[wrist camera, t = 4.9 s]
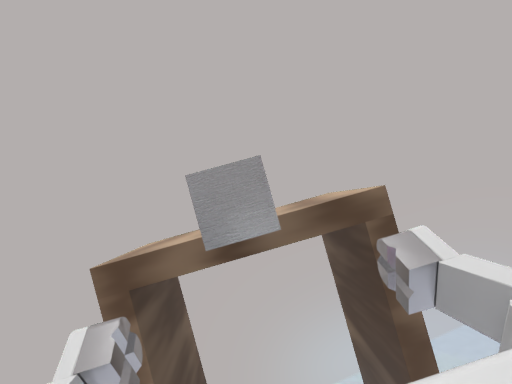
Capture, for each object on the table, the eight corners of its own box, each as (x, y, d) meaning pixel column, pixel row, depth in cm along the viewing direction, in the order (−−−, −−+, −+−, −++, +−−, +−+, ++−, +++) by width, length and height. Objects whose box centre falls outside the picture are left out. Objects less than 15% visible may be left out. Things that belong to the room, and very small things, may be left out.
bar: (260, 213, 33) (249, 174, 33) (293, 226, 13) (265, 127, 13) (220, 224, 33) (209, 185, 33) (192, 254, 13) (165, 153, 13)
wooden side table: (395, 426, 36) (328, 193, 36) (495, 568, 22) (385, 185, 22) (214, 486, 34) (148, 243, 35) (198, 677, 21) (89, 268, 21)
